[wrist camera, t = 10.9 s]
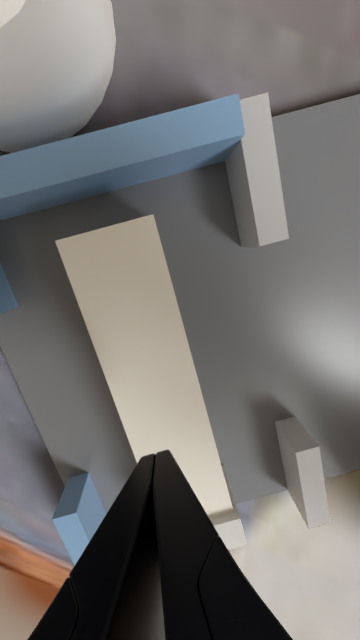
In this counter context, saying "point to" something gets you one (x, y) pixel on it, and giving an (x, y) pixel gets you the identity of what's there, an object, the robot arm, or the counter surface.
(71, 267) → the long cream plank
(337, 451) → the board
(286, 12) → the counter surface
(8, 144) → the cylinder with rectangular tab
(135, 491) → the robot arm
